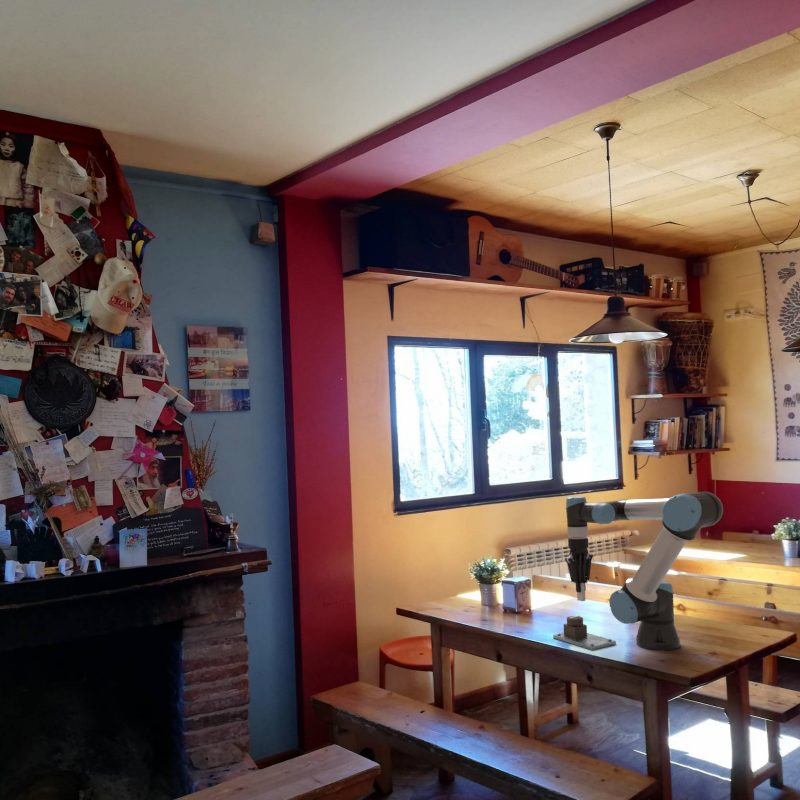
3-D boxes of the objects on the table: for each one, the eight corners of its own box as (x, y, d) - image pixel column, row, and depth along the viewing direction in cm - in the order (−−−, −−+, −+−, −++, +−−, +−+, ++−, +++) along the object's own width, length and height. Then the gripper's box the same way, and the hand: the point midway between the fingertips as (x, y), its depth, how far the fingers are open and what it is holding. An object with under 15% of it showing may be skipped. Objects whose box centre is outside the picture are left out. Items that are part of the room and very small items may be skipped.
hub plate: (615, 644, 288) (615, 631, 288) (591, 650, 282) (591, 637, 282) (576, 632, 305) (576, 620, 305) (552, 638, 299) (552, 625, 299)
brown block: (587, 635, 296) (586, 617, 296) (575, 638, 293) (574, 619, 293) (575, 632, 301) (574, 614, 302) (563, 635, 298) (563, 616, 298)
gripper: (582, 535, 307) (585, 596, 306) (558, 538, 300) (561, 601, 298) (597, 536, 301) (600, 599, 299) (573, 540, 293) (576, 604, 292)
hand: (581, 600), depth 299 cm, fingers closed
